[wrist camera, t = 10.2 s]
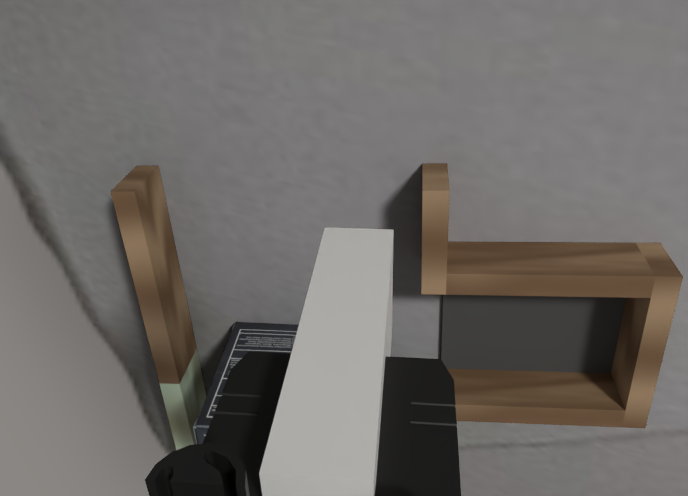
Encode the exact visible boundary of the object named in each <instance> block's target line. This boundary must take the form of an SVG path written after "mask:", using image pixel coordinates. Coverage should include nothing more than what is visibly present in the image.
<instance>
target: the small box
mask: <svg viewBox="0 0 688 496" xmlns="http://www.w3.org/2000/svg"><path fill="white" fill-rule="evenodd" d="M298 326H299V325H286V324H267V323H244V322H236V323H235V324H234V325H233V326H232V328H231V335H230V337H229V340H228V343H227V345H226V347H225V350H224V353H223V355H222V357H221V360H220V362H219V365H218V368H217V370H216V373H215V375H214V378H213V380H212V383H211V386H210V388H209V391H208V393H207V396H206V398H205V401H204V404H203V406H202V409H201V412H200V414H199V416H198V418H197V420H196V422H195V424H194V426H193V430H194V434H195V438H196V444H203V441H204V438H205V436H206V433H207V430H208V428H209V425H210V422H211V420H212V417H213V415H215V409H216V407H217V404H218V401H219V399H220V396H222V391H223V388H224V386H225V383H226V380H227V378H228V375H229V372H230V370H231V369H232V368H233V367H234V366H235V365H236V364H237V363H238V362H239V361H240V360H241V359H242V358H243V357H244V356H245V355H246V354H247V353H248V352H249V351H250V352H270V353H290V354H291V353H292V349H293V345H294V341H295V338H296V334H297V330H298Z"/></svg>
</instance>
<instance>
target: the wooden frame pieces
mask: <svg viewBox="0 0 688 496" xmlns="http://www.w3.org/2000/svg"><path fill="white" fill-rule="evenodd" d="M449 191H450V190H449V179H448V169H447V164H422V257H421V294H438V295H500V296H562V297H624V298H626V302H625V307H624V312H623V317H622V322H621V327H620V332H619V337H618V342H617V347H616V352H615V357H614V362H613V367H612V372H611V374H610V373H576V372H543V371H509V370H475V369H447V370H448V371H449V373H450V374H451V376H452V378H453V379H454V389H455V408H456V421H475V422H501V423H526V424H552V425H578V426H603V427H629V428H645V427H646V423H647V419H648V415H649V411H650V407H651V403H652V399H653V395H654V391H655V387H656V383H657V379H658V375H659V371H660V367H661V363H662V359H663V355H664V351H665V347H666V343H667V339H668V335H669V331H670V327H671V323H672V319H673V315H674V311H675V307H676V303H677V299H678V295H679V291H680V287H681V283H682V279H683V276H682V275H681V273H680V272H679V270H678V269H677V267H676V266H675V264H674V263H673V261H672V260H671V258H670V257H669V255H668V254H667V252H666V251H665V249H664V248H663V246H662V245H661V243H573V242H448V221H449ZM111 195H112V199H113V203H114V207H115V211H116V215H117V219H118V223H119V227H120V231H121V235H122V239H123V243H124V246H125V250H126V254H127V258H128V262H129V266H130V270H131V274H132V278H133V282H134V286H135V290H136V294H137V298H138V301H139V305H140V309H141V313H142V317H143V321H144V325H145V329H146V333H147V337H148V341H149V345H150V349H151V352H152V356H153V360H154V364H155V368H156V372H157V376H158V380H159V384H160V388H161V392H162V396H163V400H164V403H165V407H166V411H167V415H168V419H169V423H170V427H171V431H172V435H173V439H174V443H175V447H176V450H178V449H181V448H184V447H186V446H189V445H194V444H196V438H195V434H194V430H193V426H194V424H195V422H196V420H197V418H198V416H199V414H200V412H201V409H202V406H203V404H204V401H205V398H206V396H207V395H206V390H205V385H204V381H203V376H202V371H201V366H200V361H199V357H198V352H197V347H196V342H195V338H194V333H193V328H192V323H191V318H190V314H189V309H188V304H187V299H186V295H185V290H184V285H183V280H182V275H181V271H180V266H179V261H178V256H177V252H176V247H175V242H174V237H173V232H172V228H171V223H170V218H169V213H168V209H167V204H166V199H165V194H164V189H163V185H162V180H161V175H160V170H159V166H136V167H135V168H134V169H133V170H132V171H131V172H130V173H129V174H128V175H127V176H126V177H125V178H124V179H123V180H122V181H121V182H120V183H119V184H118V185H117V186H116V187H115V188H114V189H113V190H112V191H111Z"/></svg>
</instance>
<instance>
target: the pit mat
mask: <svg viewBox="0 0 688 496" xmlns="http://www.w3.org/2000/svg"><path fill="white" fill-rule="evenodd" d="M625 302H626V298H624V297H562V296H500V295H443V311H442V344H441V360H442V362H443V363H444V365H445V366H446V368H447V369H475V370H509V371H543V372H576V373H610V374H611V372H612V367H613V362H614V357H615V352H616V347H617V342H618V337H619V332H620V327H621V322H622V317H623V312H624V307H625Z"/></svg>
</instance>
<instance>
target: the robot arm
mask: <svg viewBox="0 0 688 496" xmlns="http://www.w3.org/2000/svg"><path fill="white" fill-rule="evenodd" d="M393 233H394V230H391V229H356V228H325V229H324V233H323V237H322V240H321V244H320V248H319V252H318V255H317V259H316V263H315V267H314V270H313V274H312V278H311V282H310V285H309V289H308V293H307V297H306V300H305V304H304V308H303V311H302V315H301V319H300V323H299V326H298V330H297V334H296V338H295V341H294V345H293V349H292V353H291V354H290V353H270V352H250V351H249V352H248V353H247V354H246V355H245V356H244V357H243V358H242V359H241V360H240V361H239V362H238V363H237V364H236V365H235V366H234V367H233V368H232V369H231V370H230V372H229V375H228V378H227V380H226V383H225V386H224V388H223V391H222V396H220V399H219V401H218V404H217V407H216V409H215V415H213V417H212V420H211V422H210V425H209V428H208V430H207V433H206V436H205V438H204V441H203V444H194V445H189V446H186V447H184V448H181V449H178V450H176V451H173V452H171V453H170V454H169V455H167V456H166V457H165V458H163V459H162V460H161V461H159V462H158V463H157V464H156V465H155V466H154V468H153V469H152V471H151V472H150V473H149V475H148V476H147V478H146V479H145V481H146V485H147V488H148V492H149V495H150V496H461V488H460V471H459V455H458V438H457V428H456V424H457V422H456V408H455V389H454V379H453V378H452V376H451V374H450V373H449V371H448V370H447V368H446V366H445V365H444V363H443V362H442V360H441V359H425V358H405V357H390V352H391V336H392V296H393Z"/></svg>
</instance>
